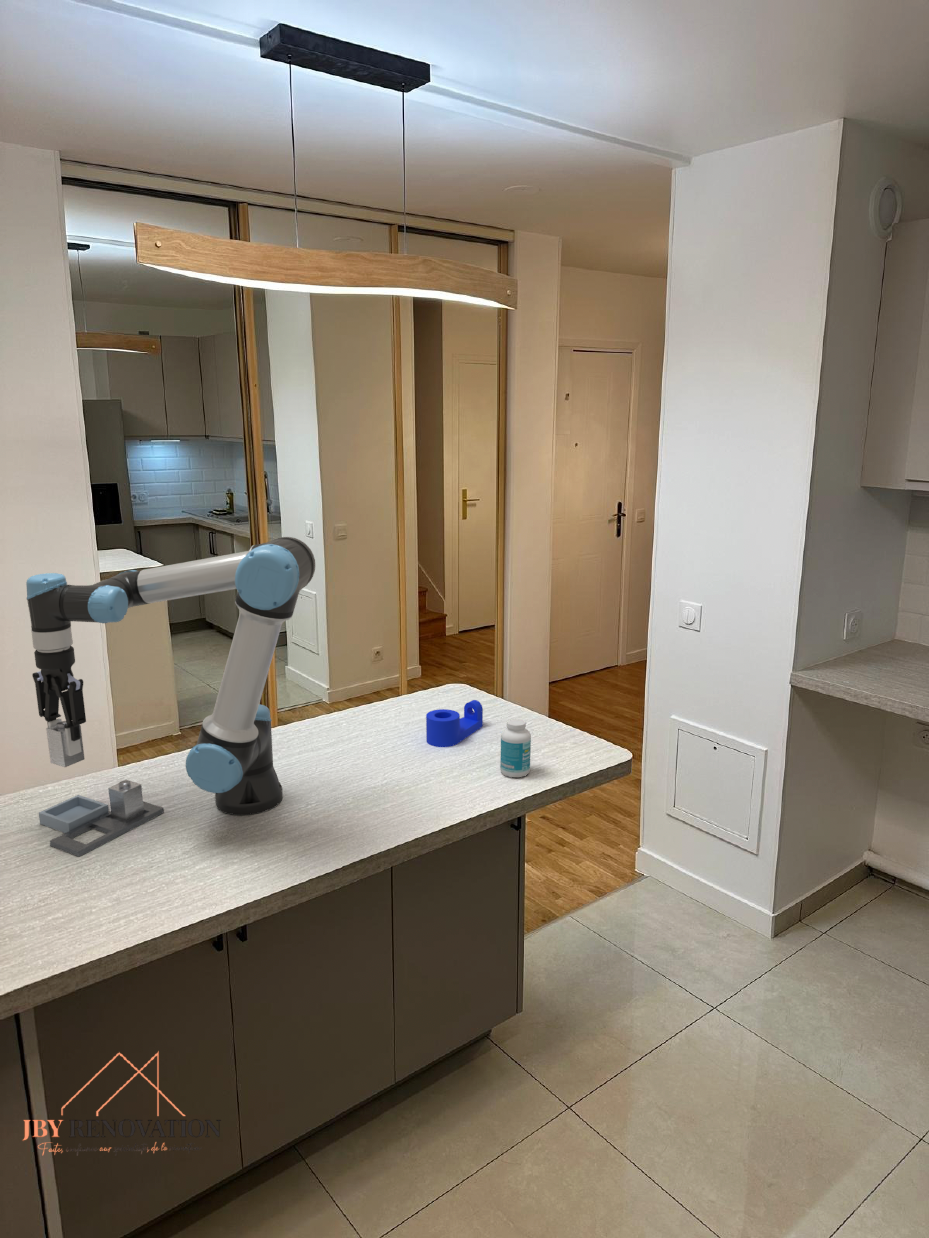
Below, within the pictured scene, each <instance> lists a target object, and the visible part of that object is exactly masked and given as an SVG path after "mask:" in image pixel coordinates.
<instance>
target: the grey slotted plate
mask: <svg viewBox="0 0 929 1238" xmlns="http://www.w3.org/2000/svg"><path fill="white" fill-rule="evenodd" d="M143 806H144V815H142V816H140V817H138V818H136V819H134V820H132V821H130V822H128V823H126V824H125V823H122V822H119V821H116V820H113V819H112V817H111V810H109V812H108V813H106V814H104V815H102V816H100V817H97V818H95V819H93V820H91V821H89V822H87V823H85V824H83V825H81V826H79V827H77V828H75V829H73V830H71V831H69V832H67V833H63V834H60V835H59V836H57V837H54V838H52V839H50V840H49V845H50V847H52V848H55V849H57V850H59V851H63V852H65V853H67V854H71V855H73V856H76V857H78V858H80V857H81V856H83V855H85V854H87V853H89V852H92V851H93V850H95V849H97V848H99V847H101V846H102V845H104V844H106V843H109V842H110V841H112V840H114V839H116V838H119V837H120V836H122V835H123V834H126V833H128V832H130V831H132V830H133V829H135V828H137V827H139V826H141V825H143V824H145V823H147V822H149V821H151V820H152V819H155V818H156V817H159V816H161V815H162V814H165V809H164V807H162V806H159V805H156V804H153V803H149V802H146V801H144V800H143ZM92 829H93V830H96V831H99V832H101V833H104V834H103V835H101V836H99V837H97V838H96V839H93V840H92V841H89V842H87V843H84V842H81V841H78V840H75V838H76V837H78V836H80V835H82V834H84V833H87V832H88V831H90V830H92Z"/></svg>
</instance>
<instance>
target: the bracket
mask: <svg viewBox="0 0 929 1238" xmlns="http://www.w3.org/2000/svg"><path fill="white" fill-rule="evenodd" d="M483 711H484V710H483V705H482V703H481V702H480V701H479V700H477V699H472V700H471V701H468V702H466V703H465V704H464V706H463V717H460V715H461V714H460V713H459V712H458V711H456V710H453V709H446V708H445V709H441V708H439V709H434V710H431V711H429V712H427V713H426V715H425V725H426V726H425V729H426V731H425V732H426V739H425V740H426V744H427V745H430V746H432V747H436V748H449V747H450V748H451V747H454V746H456V745H458V744H459V743H461V742H462V741H464V740H466V739H467V738H469V737H470V736H471V735H472V734H474V733H476V731H478V730H480V729H481V728H482V727H484V725H483V724H484V722H483V721H484V719H483V717H484V716H483V715H484V714H483Z"/></svg>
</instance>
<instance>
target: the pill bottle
mask: <svg viewBox="0 0 929 1238" xmlns="http://www.w3.org/2000/svg"><path fill="white" fill-rule="evenodd" d="M526 725H527V723H526V721H525V720H524V719H520V718H511V719H508V720H507V721H506V728H504V729H503V730H502V731H501V732H500V733H501V734H500V765H499V767H500V769H499V770H500V773H501V775H503V774H504V775H503V776H505V777H507V776H509V777H508V778H512V777H521V776H525V775H527V774H528V773H529V774H530V773H531V772H530V771H531V750H532V749H531V748H532V745H531V743H532V734H531V732H530V731H529V730H528V729H527V728H526ZM529 774H528V775H529ZM528 775H527V776H528ZM525 777H526V776H525ZM521 778H522V777H521Z"/></svg>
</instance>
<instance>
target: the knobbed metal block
mask: <svg viewBox="0 0 929 1238" xmlns="http://www.w3.org/2000/svg"><path fill="white" fill-rule="evenodd" d="M66 725H67V722H66V720H64V721H63V720H62V721H61V722H58V723H57V724H56V725H54V726H51V727H48V726H47V727H46V728H45V731H46V739H47V745H48V751H49V753H48V754H49V759H50V764H54V765H56V766H60V767H63V768H67V767H70V766H71V765H74V764H77V763H79V762H81V761H85V752H84V750H85V749H84V742H83V734H82V726H81V725H82V724H80V725H79V729H80V744H81V752H80V753H77V754H75V755H72V756H68V750H67V742H66V734H65V727H64V726H66Z"/></svg>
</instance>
